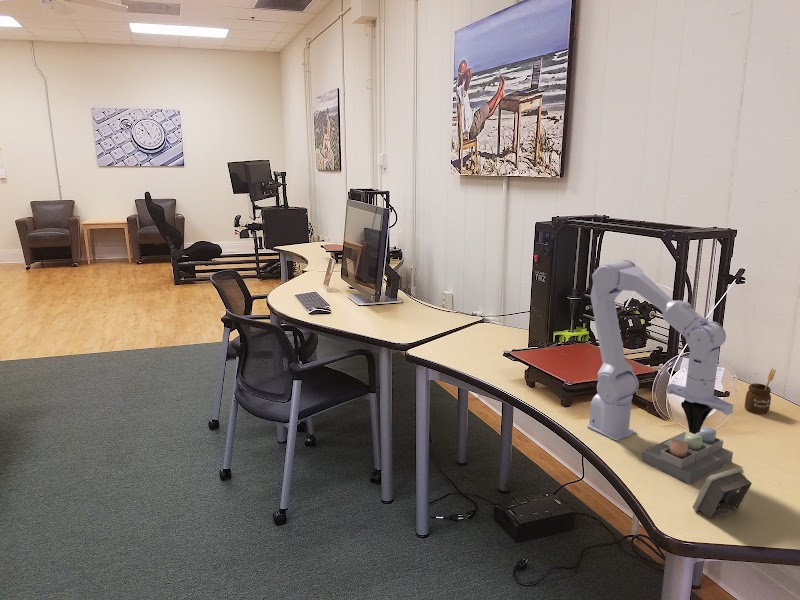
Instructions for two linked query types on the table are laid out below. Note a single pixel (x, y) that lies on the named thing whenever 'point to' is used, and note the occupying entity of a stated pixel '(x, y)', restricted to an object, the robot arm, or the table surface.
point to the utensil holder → (759, 396)
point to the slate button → (707, 434)
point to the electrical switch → (722, 493)
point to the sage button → (693, 441)
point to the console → (688, 459)
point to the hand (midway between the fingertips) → (694, 431)
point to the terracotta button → (678, 448)
